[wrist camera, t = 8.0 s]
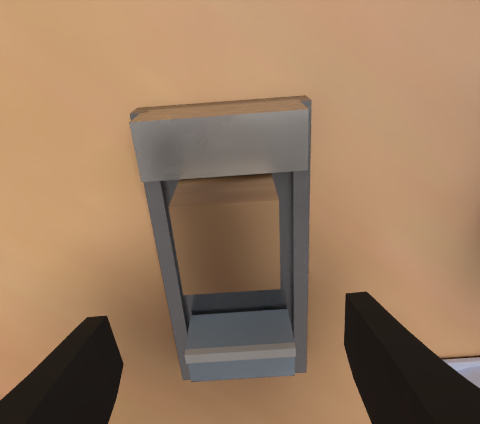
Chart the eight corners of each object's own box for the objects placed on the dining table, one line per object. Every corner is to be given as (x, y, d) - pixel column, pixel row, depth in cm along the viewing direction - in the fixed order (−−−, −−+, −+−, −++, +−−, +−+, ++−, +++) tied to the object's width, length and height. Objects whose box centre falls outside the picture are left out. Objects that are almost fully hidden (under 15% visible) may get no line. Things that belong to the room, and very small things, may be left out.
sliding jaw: (287, 308, 21) (295, 348, 19) (288, 340, 22) (295, 381, 20) (190, 315, 21) (184, 355, 19) (195, 346, 22) (190, 388, 20)
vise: (305, 95, 17) (321, 108, 14) (302, 355, 24) (312, 400, 21) (137, 107, 17) (116, 123, 14) (185, 362, 24) (178, 408, 21)
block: (267, 158, 17) (279, 200, 13) (269, 230, 19) (280, 289, 15) (185, 163, 17) (168, 207, 13) (194, 234, 19) (183, 295, 15)
